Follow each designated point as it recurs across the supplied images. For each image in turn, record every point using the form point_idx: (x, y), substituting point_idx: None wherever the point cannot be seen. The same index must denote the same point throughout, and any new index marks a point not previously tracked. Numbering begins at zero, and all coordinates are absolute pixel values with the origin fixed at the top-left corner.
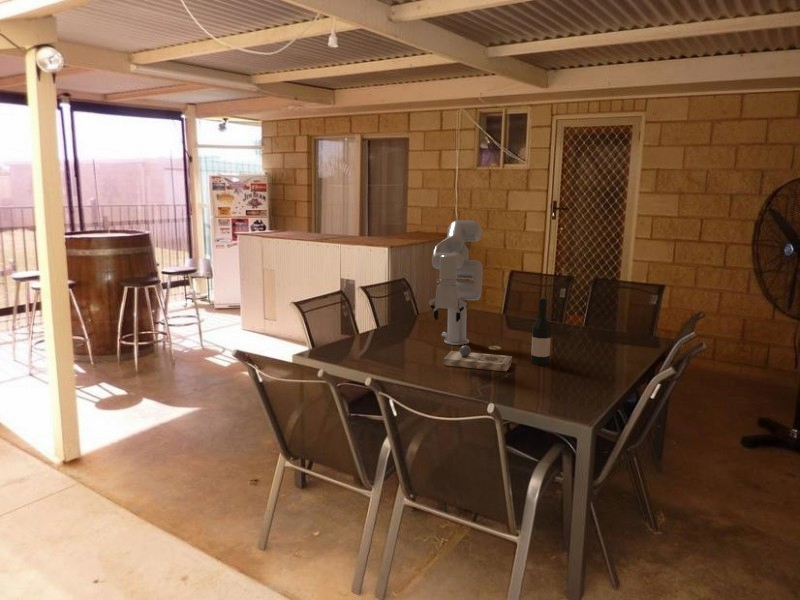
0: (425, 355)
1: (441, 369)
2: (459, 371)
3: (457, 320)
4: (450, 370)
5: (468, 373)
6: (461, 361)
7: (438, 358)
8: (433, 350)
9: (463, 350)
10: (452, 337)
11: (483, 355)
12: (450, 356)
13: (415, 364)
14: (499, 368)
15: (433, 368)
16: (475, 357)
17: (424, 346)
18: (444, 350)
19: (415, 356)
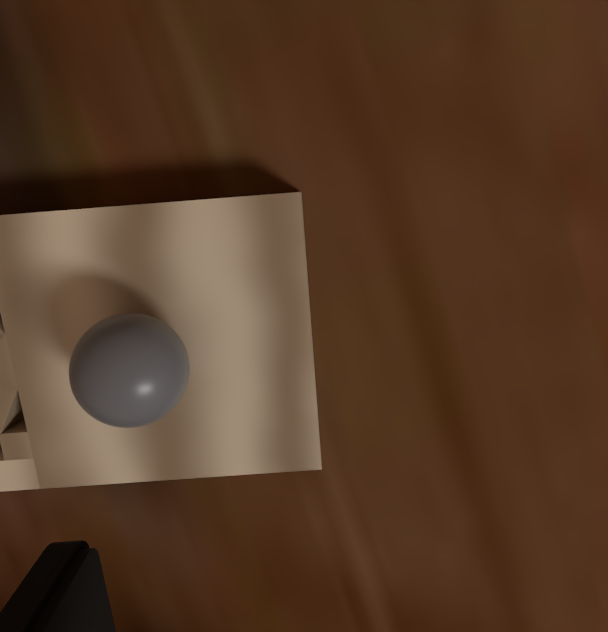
0: (531, 406)
1: (275, 54)
2: (108, 62)
3: (38, 558)
4: (191, 58)
5: (14, 34)
6: (129, 206)
7: (405, 367)
8: (507, 557)
9: (122, 321)
10: None
11: (12, 438)
12: (267, 291)
13: (541, 110)
14: None
15: (352, 54)
16: (48, 351)
17: (603, 628)
18: (426, 587)
19: (604, 347)
